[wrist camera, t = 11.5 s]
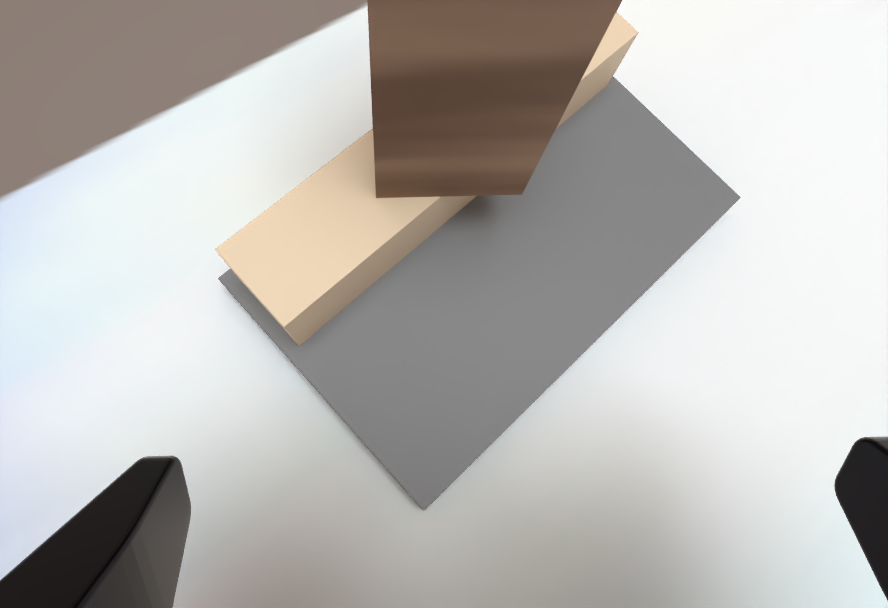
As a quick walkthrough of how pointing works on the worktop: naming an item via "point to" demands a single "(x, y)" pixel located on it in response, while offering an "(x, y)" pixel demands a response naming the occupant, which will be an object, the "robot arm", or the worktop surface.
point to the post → (473, 89)
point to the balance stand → (471, 276)
